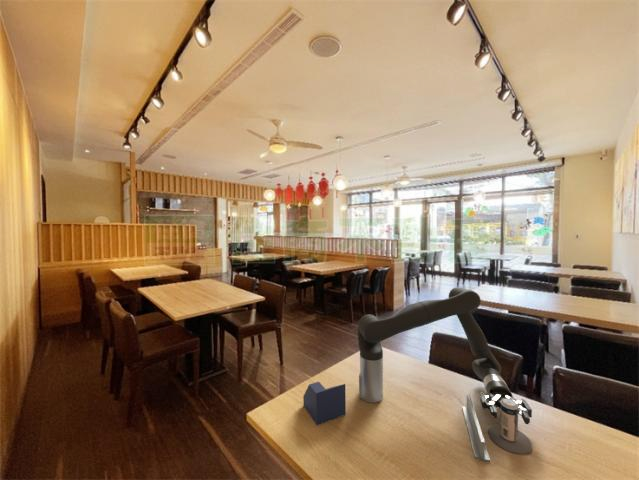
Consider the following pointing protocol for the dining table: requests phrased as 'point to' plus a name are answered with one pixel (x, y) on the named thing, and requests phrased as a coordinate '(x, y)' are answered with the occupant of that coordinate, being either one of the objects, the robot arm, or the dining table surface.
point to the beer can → (509, 419)
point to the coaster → (516, 447)
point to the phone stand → (325, 402)
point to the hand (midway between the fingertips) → (511, 418)
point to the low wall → (475, 432)
